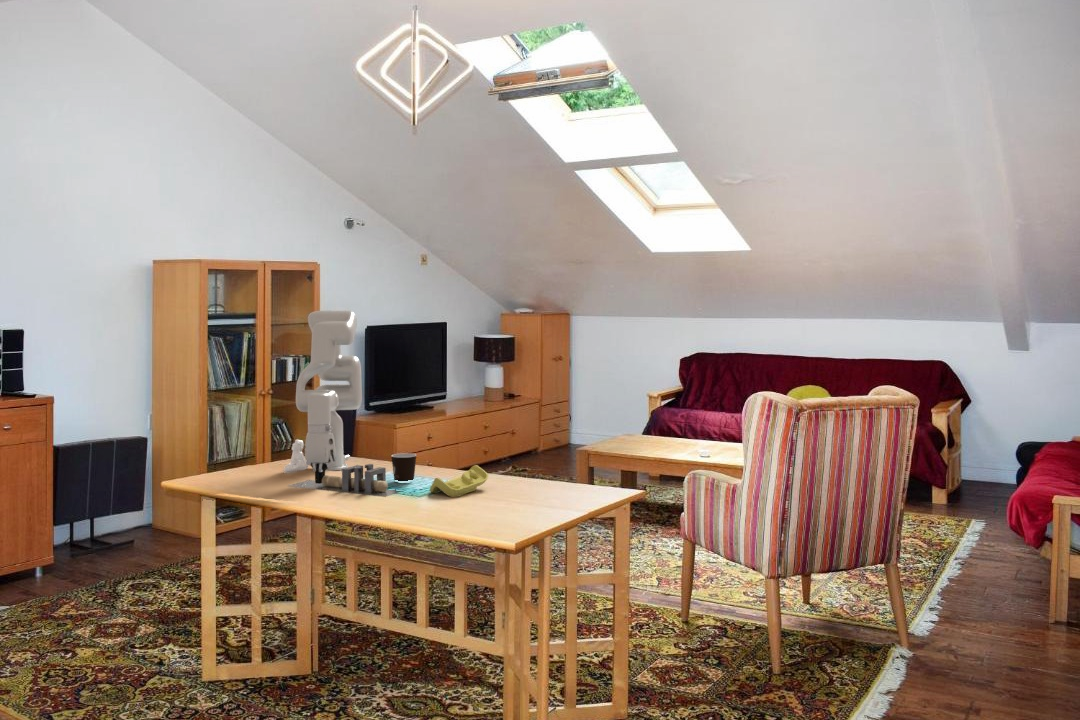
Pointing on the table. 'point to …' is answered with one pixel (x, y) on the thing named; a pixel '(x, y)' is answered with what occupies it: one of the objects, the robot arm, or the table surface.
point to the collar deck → (357, 481)
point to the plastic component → (461, 482)
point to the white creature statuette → (296, 458)
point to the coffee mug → (403, 466)
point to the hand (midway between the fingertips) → (320, 482)
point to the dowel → (352, 483)
